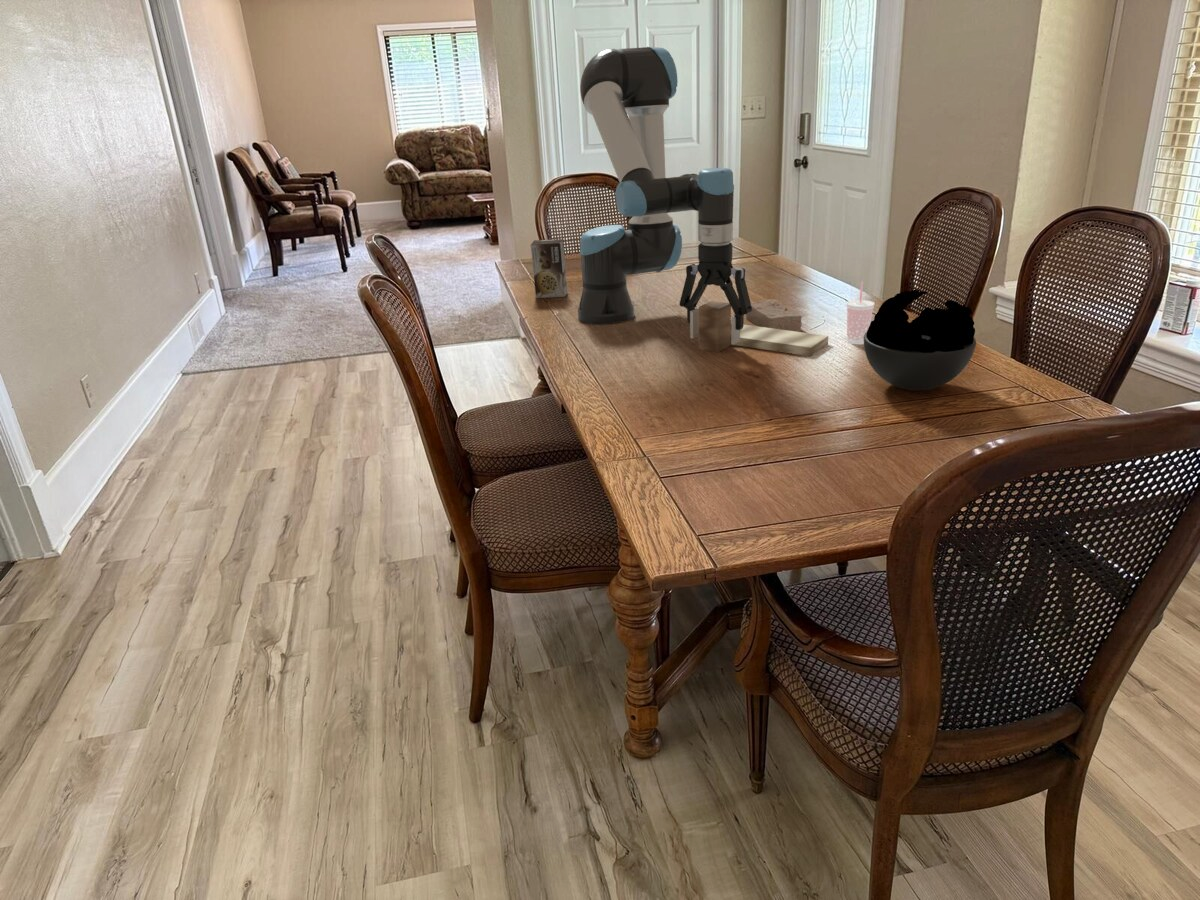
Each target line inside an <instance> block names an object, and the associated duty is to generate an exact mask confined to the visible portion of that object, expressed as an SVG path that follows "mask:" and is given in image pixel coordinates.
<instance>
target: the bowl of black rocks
mask: <svg viewBox="0 0 1200 900" xmlns="http://www.w3.org/2000/svg"><path fill="white" fill-rule="evenodd" d="M927 293H928V291H926V290H925V291H923V290H922V291H920V290H918V289H913V290H910V291H909V290H904V291H902V292H898V293H896V294H895V295H894V296H892V297H889V298H887V299H885V301H883V302H882V303H881V304H880V306H879V308H878V311H877V312H876V313H875V315H874V317H873V320H871V323H870V326H869V328H868V330H867V332H866V333H865V335H864V344H863V349H864V353H865V356H866V359H867V361H868V363H869V365H870V366H871V368H872V369H873V370H874V372H875V373H876V374H877V375H878V377H880V378H881V379H883V380H884V381H885V382H886V383H889V384H890V385H892V386H894V387H896V388H900V389H904V390H906V391H907V390H909V391H927V390H932V389H936V388H938V387H942V386H943V385H945V384H948V383H950V381H952V380H953V379H955V378H956V377H957V376H958V375H960V373H962V371H964V370H965V369H966V367H967V365H968V364H969V362H970V361H971V359H972V357H973V355H974V352H975V350H976V347H977V346H976V345H977V340H976V338H975V335H976V328H975V327H974V326H975V321H974V318H973V317H972V316H970V315H972V314H973V311H972V309H971V308H969V307H967V306H965V305H963V304H961V303H959V302H958V301H955V300H952V299H948V300H946V301H945V303H944V306H945V307H946V308H940V307H936V308H934V309H933V308H931V307H928V306H927V307H926V308H923V310H922V311H921V312H920V313H919V315H918V316H916V317H915V318H913V319H912V320H911V321H908V320H909V319H910V316H909V314H908V313H907V311H906V310H905V309H906V308H907V307H908V306H909V305H910V304H911V303H913V302H915V300H918V299H919V298H920V297H921V296H923V295H926V294H927Z"/></svg>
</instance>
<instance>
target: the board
mask: <svg viewBox="0 0 1200 900" xmlns="http://www.w3.org/2000/svg"><path fill="white" fill-rule="evenodd" d="M828 345H829V335H826V334H825V335H824V334H817V333H810V332H801V331H799V332H796V331H788V330H781V329H773V328H766V327H758V326H757V325H751V324H750V325H749V324H743V328H742V329H741V330H740V342H738V343H736V344H735V345H733V344H731V340H730V346H737V347H746V348H753V349H759V350H766V351H772V352H778V351H779V353H787V354H791V353H792V355H799V356H806V357H812V356H814V354H816V353H817V352H819V351H821V349H823V348H825V347H826V346H828Z"/></svg>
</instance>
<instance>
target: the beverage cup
mask: <svg viewBox="0 0 1200 900" xmlns="http://www.w3.org/2000/svg"><path fill="white" fill-rule="evenodd" d="M863 289H864V280H860V289H859V290H860V291H859V299H854V300H853V299H852V300H849V301H847V302H845V304H846V306H845V307H846V311H847V312H846V314H847V315H846V342H847V343H848V344H852V345H864V335H865V333H866V332H867V330H868V328H869V326H870V323H871V321H872V315H873V309H874V308H875V302H874V301H871V300H865V299H863Z"/></svg>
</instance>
